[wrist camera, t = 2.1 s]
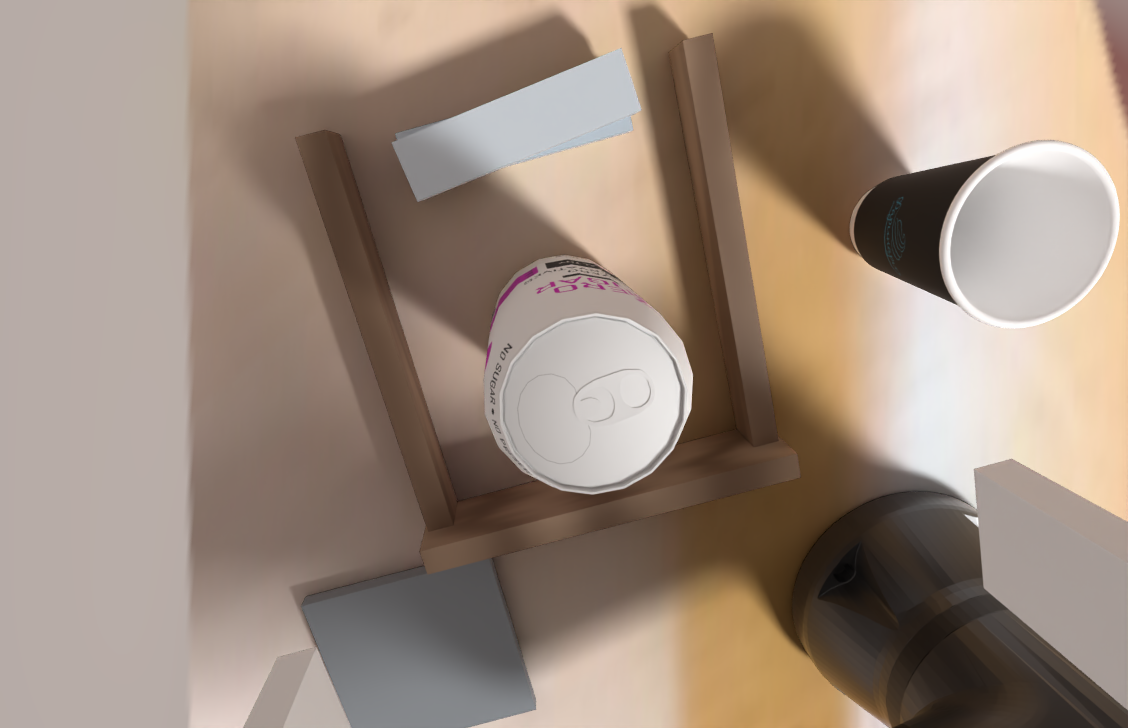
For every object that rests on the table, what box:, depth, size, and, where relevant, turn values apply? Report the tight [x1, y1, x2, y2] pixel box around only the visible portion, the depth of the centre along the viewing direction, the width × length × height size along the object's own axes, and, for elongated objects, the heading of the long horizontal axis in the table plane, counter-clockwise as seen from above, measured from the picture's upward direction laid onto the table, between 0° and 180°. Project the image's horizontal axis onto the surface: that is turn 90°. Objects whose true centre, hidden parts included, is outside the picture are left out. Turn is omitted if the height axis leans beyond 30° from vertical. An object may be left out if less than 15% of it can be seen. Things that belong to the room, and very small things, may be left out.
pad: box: [301, 558, 536, 728], centre depth 43 cm, size 12×12×1 cm
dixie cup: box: [850, 140, 1120, 328], centre depth 33 cm, size 8×8×11 cm
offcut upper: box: [391, 48, 642, 202], centre depth 33 cm, size 12×3×2 cm, turn 111°
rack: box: [295, 33, 801, 574], centre depth 36 cm, size 22×24×5 cm
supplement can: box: [484, 255, 693, 495], centre depth 31 cm, size 8×8×15 cm
